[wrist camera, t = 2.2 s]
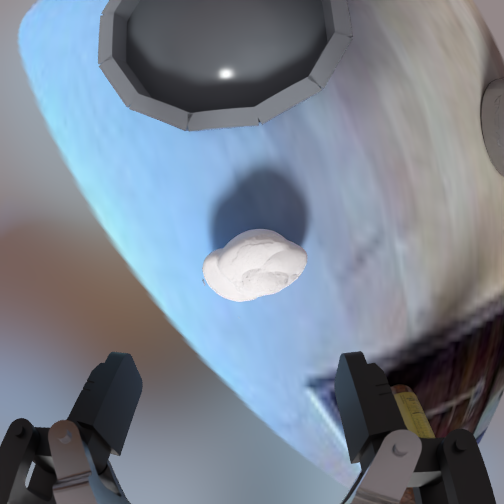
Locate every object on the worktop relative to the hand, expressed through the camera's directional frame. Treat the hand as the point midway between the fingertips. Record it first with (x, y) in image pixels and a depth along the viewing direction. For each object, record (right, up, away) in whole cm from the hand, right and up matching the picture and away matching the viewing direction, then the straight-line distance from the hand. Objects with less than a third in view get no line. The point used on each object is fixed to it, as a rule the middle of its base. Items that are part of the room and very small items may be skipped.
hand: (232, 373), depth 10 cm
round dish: (-1, +19, +3) cm, 19 cm away
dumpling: (+1, +4, +10) cm, 11 cm away
